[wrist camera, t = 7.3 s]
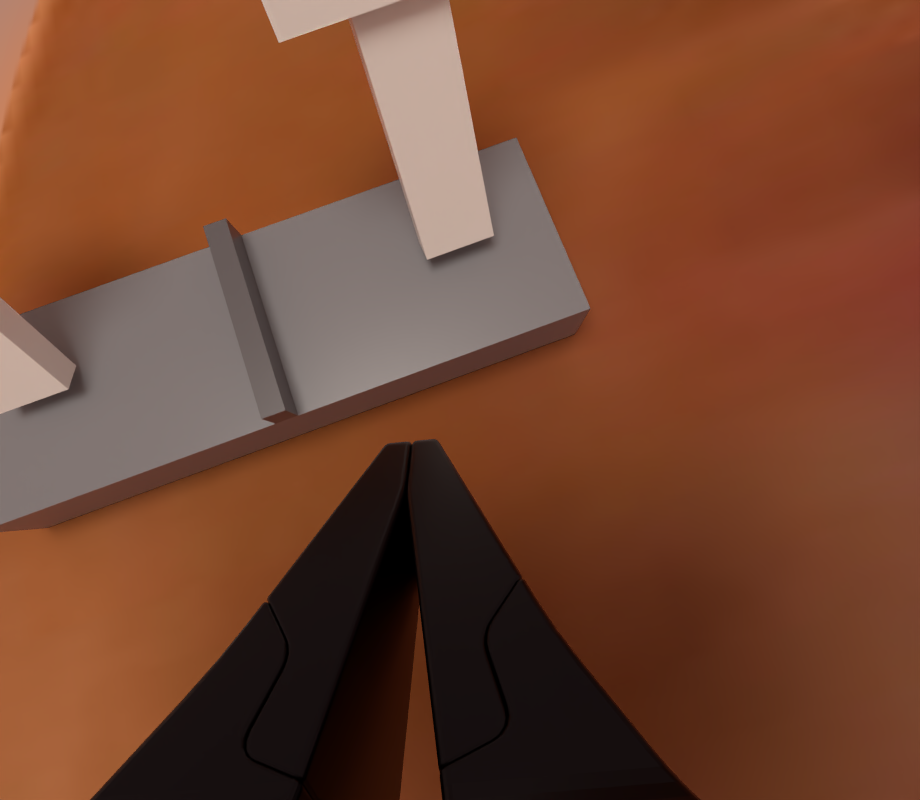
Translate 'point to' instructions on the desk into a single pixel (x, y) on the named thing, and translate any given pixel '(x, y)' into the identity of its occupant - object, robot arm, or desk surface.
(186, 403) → the grey ridged base plate
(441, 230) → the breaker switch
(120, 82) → the desk surface
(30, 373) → the switch
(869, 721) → the desk surface
